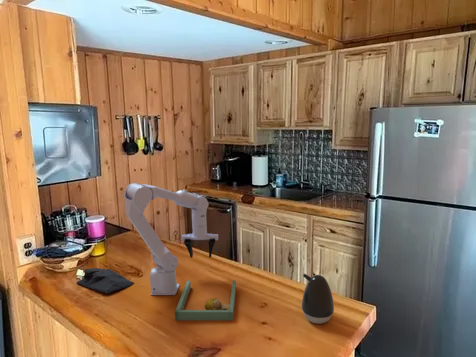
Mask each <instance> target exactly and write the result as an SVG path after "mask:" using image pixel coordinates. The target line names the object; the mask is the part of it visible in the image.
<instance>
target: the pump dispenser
mask: <svg viewBox="0 0 476 357" xmlns="http://www.w3.org/2000/svg"><path fill="white" fill-rule="evenodd" d="M302 276H303V278H305V279H306V280H307V281H308V282H307V283H306V286H305V288H304V291H303V295H302V301H301V309H302V310H301V311H302V312H303V315H304V317H305V318H306V319H307V321H309V322H311V323H314V324H317V325H318V324H320V325H321V324H325V323H327V322H329V320H330V319H331V318H332V316H333V314H334V312H335V306H334V305H335V303H334V297H333V293H332V290H331V287H330V285H329V282H328V281H327V279H326V278H325V276H323V275H321V274H314V275H313V276H312V277H311V276H309V275H307V274H306V273H303V275H302Z"/></svg>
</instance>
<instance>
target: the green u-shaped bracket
mask: <svg viewBox="0 0 476 357" xmlns="http://www.w3.org/2000/svg"><path fill="white" fill-rule="evenodd" d="M191 286H192V285H191V280H189V279H188V280H186V283H185V285H184V288H183V290H182V293H181V296H180V298H179V301H178V303H177V306H176V307H175V311H174V314H175V315H174V316H175V321H234V317H235V315H234V314H235V304H236V293H237V280H236V279H234V280H232V285H231V293H230V300H229V302H230V303H229V305H230V306H229V307H230V308H228V309H222V310H206V309H184V308H185V305H186V302H187V299H188V296H189V293H190V291H191V289H192V287H191Z"/></svg>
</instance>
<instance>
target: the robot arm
mask: <svg viewBox="0 0 476 357" xmlns="http://www.w3.org/2000/svg"><path fill="white" fill-rule="evenodd" d="M123 198H124V202H125V215H126V218H128V220H129V221H130V223H131V225H133V227H134V228H135V230H136V231H137V233H138V234H139V236H140V237H141V238H142V240H143V242H144V243H145V244H146V246H147V247H148V249H149V250H150V254H151V255H152V260H153V263H155V264H156V267H152V268H151V269H150V270H151V271H150V274H149V275H150V276H149V279H150V280H149V281H150V295H151V296H176V294H177V292H178V289H179V288H180V283H177V271H176V269H177V267H178V265H179V259H178V257H177V256H176V255H174V254H172V253H171V251H170V250H169V248H167V247H166V246H165V244H164V242H162V240H161V238H160V237H159V235H158V234H157V233H156V231H155V230H154V228H153V227H152V224H150V222H149V221H148V219H147V218H146V216H145V215H144V211H145V210H146V208H147V207H148V205H149V204H150V202H151V201H155V200H156V198H160V199H165V200H170V201H173V202H174V204H175V206H180V207H183V208H189V209H191V222H192V223H191V224H192V226H191V227H192V233H187V234H182V235H181V241H183V242H184V243H183V244H184V245H185V247H186V249H187V252H188V254H189V257H190V258H191V259H192V258H193V256H194V250H193V241H208V257H209V258H212V253H213V249H214V245H215V243H216V241H218V240H219V234H218V233H217V234H216V233H208V229H207V228H208V225H207V223H208V222H207V210H208V208H209V202H208V199H207V198H206V197H205V196H202V195H199V194H198V193H195V192H193V193H192V192H188V190H186V189H182V190H181V189H180V190H177V191H175V192H174V191H172V190H168V189H165V188H162V187H159V186H156V185H153V184H151V185H150V184H146V183H144V184H143V183H141V184H140V183H138V182H133V183H130V184H128V185H127V186H126V189H125V192H124V193H123Z"/></svg>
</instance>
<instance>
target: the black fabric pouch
mask: <svg viewBox="0 0 476 357" xmlns="http://www.w3.org/2000/svg"><path fill="white" fill-rule="evenodd" d="M76 284H78V285H80V286H82V287H86V288H88V289H92V290H95V291H96V292H97V291H98V292H100V293H103V294H111V293H113V292H116V291H118V290H122V289H125V288H127V287H131V286H132V285H134V284H135V283H134V282H133V281H132V280H129V279H128V278H126V277H124V275H122V274H120V273H118V272H117V271H114V270H113V269H110V268H105V269H104V268H98V267H93V268H85V269H84V274H83V277H82V279H80V280H77V281H76Z"/></svg>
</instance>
